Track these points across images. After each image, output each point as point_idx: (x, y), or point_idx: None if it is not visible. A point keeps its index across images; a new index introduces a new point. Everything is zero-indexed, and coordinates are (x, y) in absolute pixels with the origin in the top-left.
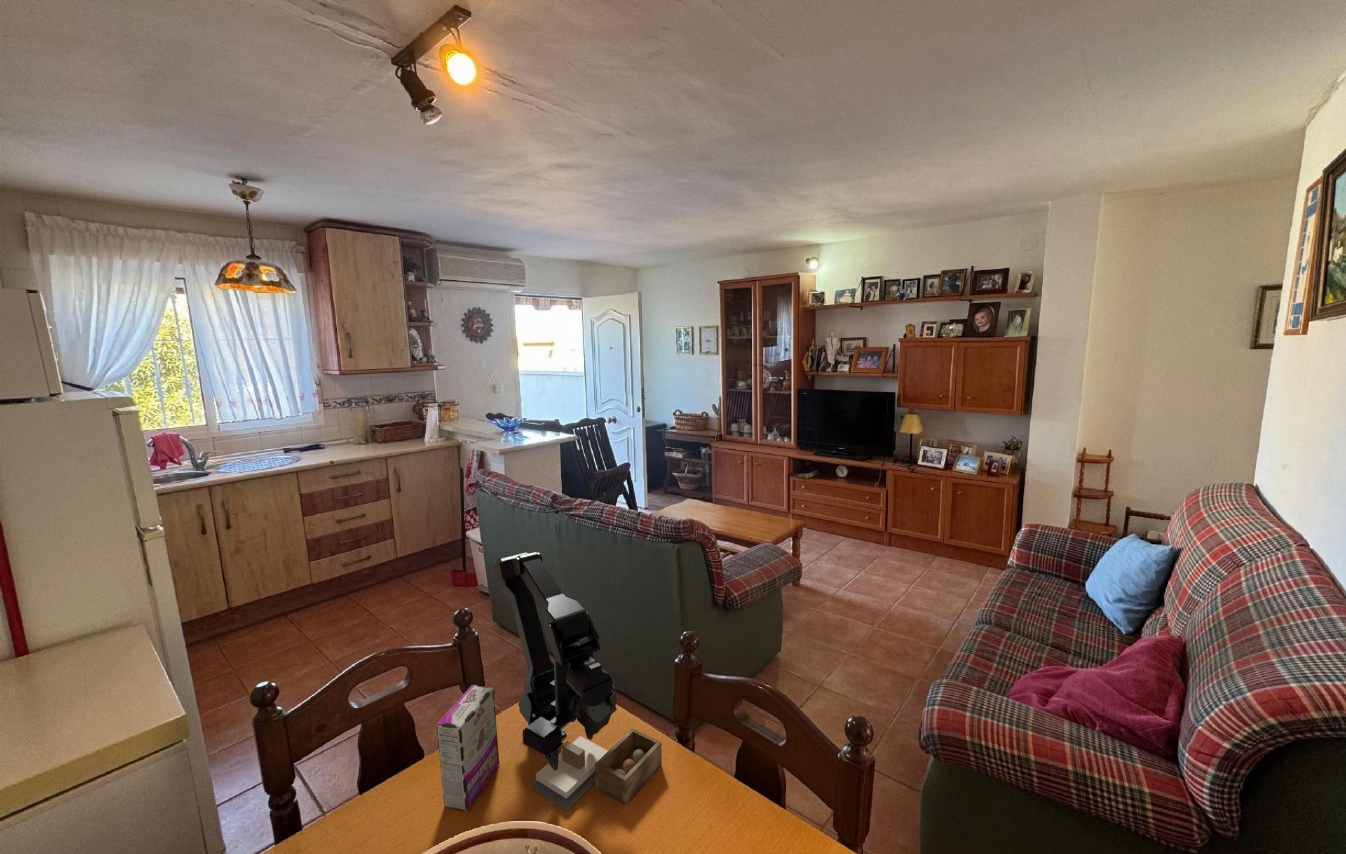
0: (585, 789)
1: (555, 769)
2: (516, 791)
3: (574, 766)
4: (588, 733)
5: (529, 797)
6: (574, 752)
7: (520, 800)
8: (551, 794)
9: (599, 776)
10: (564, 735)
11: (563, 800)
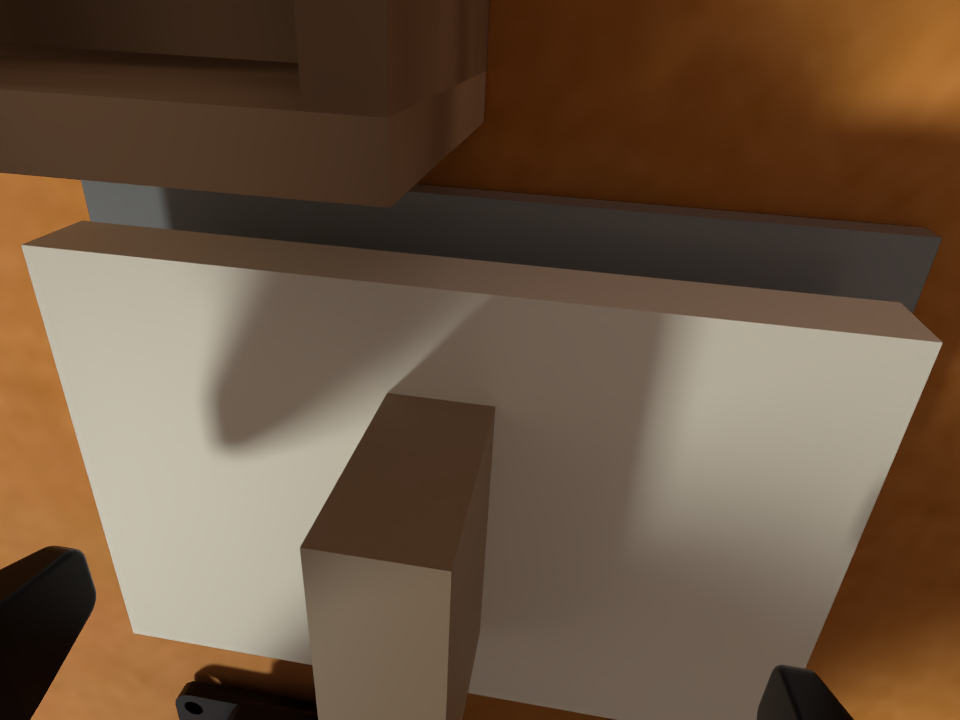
0: (585, 206)
1: (827, 698)
2: None
3: (488, 486)
4: (25, 653)
5: (869, 612)
6: (442, 654)
7: (925, 652)
8: None
9: (446, 61)
10: (210, 686)
11: None
